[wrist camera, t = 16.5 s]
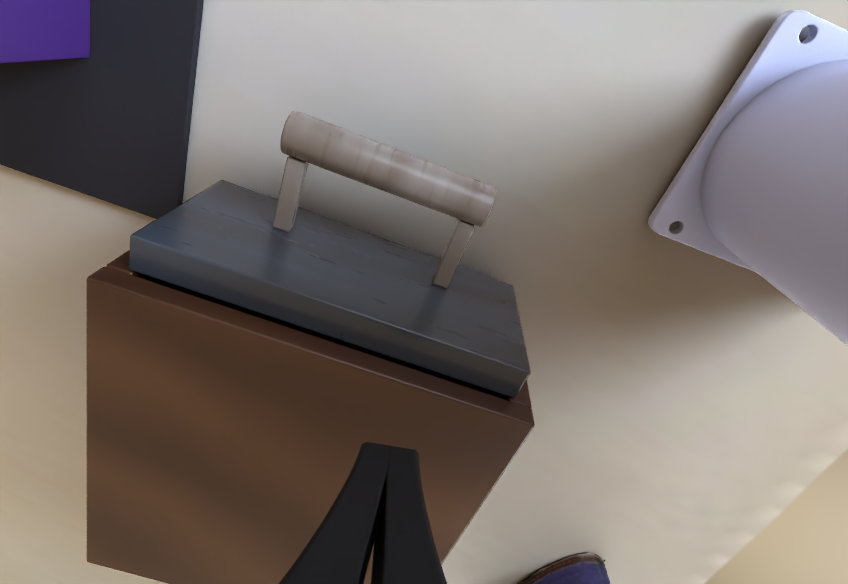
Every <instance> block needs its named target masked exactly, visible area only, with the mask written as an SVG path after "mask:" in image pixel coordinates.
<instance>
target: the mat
mask: <svg viewBox="0 0 848 584" xmlns="http://www.w3.org/2000/svg"><path fill="white" fill-rule="evenodd" d="M202 10H203V0H90V57H89V58H75V59H59V60H44V61H29V62H13V63H0V164H1V165H4V166H7V167H10V168H13V169H15V170H18V171H21V172H24V173H27V174H30V175H33V176H35V177H38V178H41V179H44V180H47V181H50V182H53V183H56V184H58V185H61V186H64V187H67V188H70V189H73V190H76V191H79V192H81V193H84V194H87V195H90V196H93V197H96V198H99V199H101V200H104V201H107V202H110V203H113V204H116V205H119V206H122V207H124V208H127V209H130V210H133V211H136V212H139V213H142V214H145V215H147V216H150V217H153V218H156V219H158V218H160V217H161V216H163V215H165V214H166V213H168V212H170V211H171V210H173V209H174V208H176V207H178V206H179V205H181V204H182V198H183V188H184V179H185V169H186V160H187V151H188V141H189V132H190V122H191V113H192V104H193V94H194V85H195V75H196V66H197V57H198V47H199V38H200V28H201V19H202Z"/></svg>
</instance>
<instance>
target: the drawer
mask: <svg viewBox="0 0 848 584" xmlns="http://www.w3.org/2000/svg"><path fill="white" fill-rule="evenodd" d="M281 151H282V153H284V154H286V155H289V157H288V158H287V161H286V165H285V170H284V175H283V179H282V184H281V189H280V193H279V198H278V200H276V199H274V198H271V197H268V196H265V195H263V194H260V193H257V192H254V191H252V190H249V189H246V188H243V187H241V186H238V185H235V184H232V183H230V182H227V181H224V180H220V181H219V182H217V183H215V184H214V185H212V186H211V187H209V188H207V189H206V190H204V191H202V192H201V193H199V194H197V195H196V196H194V197H193V198H191V199H189V200H188V201H186V202H184V203H183V204H181V205H179V206H178V207H176V208H174V209H173V210H171V211H170V212H168V213H166V214H165V215H163V216H161V217H160V218H158V219H156V220H155V221H153V222H152V223H150V224H148V225H147V226H145V227H143V228H142V229H140V230H138V231H137V232H135V233H133V234H132V235H131V237H130V256H129V269H130V270H132V271H135V272H138V273H141V274H144V275H147V276H150V277H153V278H156V279H159V280H162V281H165V282H168V283H171V284H174V285H177V286H180V287H179V288H178V289H177V290H178V291H181V292H184V293H187V294H190V295H193V296H196V297H199V298H202V299H205V300H208V301H211V302H214V303H217V304H220V305H223V306H226V307H229V308H232V309H235V310H238V311H241V312H244V313H247V314H250V315H253V316H256V317H259V318H262V319H265V320H268V321H271V322H274V323H277V324H280V325H283V326H286V327H289V328H292V329H295V330H298V331H301V332H304V333H307V334H310V335H313V336H316V337H319V338H322V339H325V340H328V341H331V342H334V343H337V344H340V345H343V346H346V347H349V348H352V349H355V350H358V351H361V352H364V353H367V354H370V355H373V356H376V357H379V358H382V359H385V360H388V361H391V362H394V363H397V364H400V365H403V366H406V367H409V368H412V369H415V370H418V371H421V372H424V373H427V374H430V375H433V376H436V377H439V378H442V379H445V380H447V381H450V382H453V383H456V384H459V385H462V386H465V387H468V388H471V389H474V390H477V388H476V386H479V387H482V388H485V389H488V390H491V391H494V392H497V393H500V394H503V395H506V396H509V397H512V398H515V397H516V396H517V394H518V392H519V391H520V389H521V387H522V386H523V384H524V383H525V381H526V379H527V378H528V376H529V374H530V366H529V362H528V357H527V352H526V347H525V342H524V337H523V332H522V327H521V322H520V317H519V312H518V307H517V302H516V298H515V293H514V288H513V285H511V284H508V283H505V282H502V281H500V280H497V279H494V278H491V277H489V276H486V275H483V274H480V273H478V272H475V271H472V270H469V269H467V268H464V267H461V266H458V264H459V262H460V260H461V257H462V255H463V253H464V251H465V248H466V246H467V244H468V242H469V239H470V237H471V235H472V233H473V231H474V225H476V226H479V227H482V226H483V225H484V224H485V222H486V221H487V219H488V217H489V215H490V213H491V210H492V208H493V205H494V202H495V198H496V193H497V189H496V188H495V187H493V186H490V185H488V184H485V183H482V182H480V181H477V180H475V179H472V178H470V177H467V176H464V175H462V174H459V173H457V172H454V171H451V170H449V169H446V168H444V167H441V166H438V165H436V164H433V163H431V162H428V161H425V160H423V159H420V158H418V157H415V156H412V155H410V154H407V153H405V152H402V151H399V150H397V149H394V148H392V147H389V146H386V145H384V144H381V143H379V142H376V141H374V140H371V139H368V138H366V137H363V136H361V135H358V134H355V133H353V132H350V131H348V130H345V129H342V128H340V127H337V126H335V125H332V124H329V123H327V122H324V121H322V120H319V119H316V118H314V117H311V116H309V115H306V114H303V113H301V112H298V111H292V112H291V113H290V115H289V116H288V118H287V120H286V122H285V125H284V128H283V132H282V136H281ZM308 163H310V164H313V165H316V166H318V167H321V168H324V169H326V170H329V171H332V172H334V173H337V174H340V175H342V176H345V177H348V178H350V179H353V180H356V181H358V182H361V183H364V184H366V185H369V186H372V187H374V188H377V189H380V190H383V191H385V192H388V193H391V194H393V195H396V196H399V197H401V198H404V199H407V200H409V201H412V202H415V203H417V204H420V205H423V206H425V207H428V208H431V209H433V210H436V211H439V212H441V213H444V214H447V215H449V216H452V217H455V218H457V222H456V224H455V226H454V229H453V231H452V234H451V236H450V238H449V241H448V243H447V245H446V248H445V250H444V252H443V255H442V257H441V259H439V258H436V257H433V256H431V255H428V254H425V253H422V252H420V251H417V250H414V249H411V248H409V247H406V246H403V245H400V244H398V243H395V242H392V241H389V240H387V239H384V238H381V237H378V236H376V235H373V234H370V233H367V232H365V231H362V230H359V229H356V228H354V227H351V226H348V225H345V224H343V223H340V222H337V221H334V220H332V219H329V218H326V217H323V216H320V215H318V214H315V213H312V212H309V211H307V210H304V209H301V208H298V205H299V201H300V196H301V192H302V188H303V184H304V180H305V175H306V171H307V167H308Z"/></svg>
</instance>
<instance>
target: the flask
mask: <svg viewBox="0 0 848 584" xmlns="http://www.w3.org/2000/svg"><path fill="white" fill-rule="evenodd" d="M605 561H606V560H602V559H601V558H600V557H599V556H597V555H596V554H591V553H585V554H576V555H574V556H570V557H567V558H565V559H562V560H561V561H559V562H556V563H554V564H551V565H550V566H548V567H544V568H543V569H540V570H538V572H536V573H535V574H532V575H531V576H530V577H529V579H527V580H524V581H522V582H521V583H519V584H610V581H609V578H608V575H607V570H606V568H605V565H604V562H605Z"/></svg>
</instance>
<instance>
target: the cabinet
mask: <svg viewBox="0 0 848 584" xmlns="http://www.w3.org/2000/svg"><path fill="white" fill-rule="evenodd" d="M129 256H130V250H129V251H127V252H126V253H124V254H123V255H121V256H120V257H118V258H117V259H115V260H114V261H112V262H110V263H109V264H107V266H106V267H103V268H101V269H100V270H98V271H96V272H95V273H93V274H92V275H90V276H89V277H88V278H87V562H90V563H93V564H97V565H101V566H105V567H108V568H112V569H116V570H120V571H123V572H127V573H131V574H135V575H138V576H142V577H146V578H150V579H154V580H157V581H161V582H165V583H169V584H279V582H280V581H281V580H282V579H283V577H284V576H285V575H286V573H287V572H288V571H289V569H290V568H291V567H292V565H293V564H294V562H295V561H296V560H297V558H298V557H299V555H300V554H301V553H302V551H303V550H304V548H305V547H306V545H307V544H308V542H309V541H310V539H311V538H312V536H313V535H314V533H315V532H316V530H317V529H318V527H319V526H320V524H321V523H322V521H323V520H324V518H325V516H326V515H327V513H328V511H329V510H330V508H331V506H332V505H333V503H334V501H335V500H336V498H337V496H338V494H339V493H340V491H341V489H342V487H343V485H344V484H345V482H346V480H347V478H348V476H349V474H350V472H351V470H352V468H353V465H354V463H355V461H356V458H357V456H358V454H359V451H360V448H361V445H362V444H363V443H365V442H371V443H378V444H384V445H390V446H396V447H402V448H408V449H414V450H416V451H417V452H418V453H419V465H420V475H421V482H422V489H423V494H424V500H425V505H426V509H427V514H428V518H429V522H430V526H431V530H432V534H433V538H434V542H435V546H436V549H437V553H438V557H439V560H440V563H441V565H442V563H443V562H444V560H445V559H446V557H447V556H448V554H449V553H450V551H451V550H452V548H453V547H454V545H455V544H456V542H457V541H458V539H459V538H460V536H461V535H462V533H463V532H464V530H465V529H466V527H467V526H468V524H469V523H470V521H471V520H472V519H473V517H474V516H475V514H476V513H477V511H478V510H479V508H480V507H481V505H482V504H483V502H484V501H485V499H486V498H487V496H488V495H489V493H490V492H491V490H492V489H493V487H494V486H495V484H496V483H497V481H498V480H499V478H500V477H501V475H502V474H503V472H504V471H505V469H506V468H507V466H508V465H509V463H510V462H511V460H512V459H513V457H514V456H515V454H516V453H517V451H518V450H519V448H520V447H521V445H522V444H523V442H524V441H525V439H526V438H527V436H528V435H529V433H530V432H531V430H532V429H533V427H534V419H533V414H532V409H531V401H530V396H529V391H528V385H527V380H526V381H525V383H524V384H523V386H522V387H521V389H520V391H519V392H518V394H517V396H516V397H515V398H512V397H509V396H506V395H503V394H500V393H497V392H494V391H491V390H488V389H485V388H482V387H479V386H476V388H477V390H474V389H471V388H468V387H465V386H462V385H459V384H456V383H453V382H450V381H447V380H445V379H442V378H439V377H436V376H433V375H430V374H427V373H424V372H421V371H418V370H415V369H412V368H409V367H406V366H403V365H400V364H397V363H394V362H391V361H388V360H385V359H382V358H379V357H376V356H373V355H370V354H367V353H364V352H361V351H358V350H355V349H352V348H349V347H346V346H343V345H340V344H337V343H334V342H331V341H328V340H325V339H322V338H319V337H316V336H313V335H310V334H307V333H304V332H301V331H298V330H295V329H292V328H289V327H286V326H283V325H280V324H277V323H274V322H271V321H268V320H265V319H262V318H259V317H256V316H253V315H250V314H247V313H244V312H241V311H238V310H235V309H232V308H229V307H226V306H223V305H220V304H217V303H214V302H211V301H208V300H205V299H202V298H199V297H196V296H193V295H190V294H187V293H184V292H181V291H178V290H177V289H178V288H179V287H180V286H177V285H174V284H171V283H168V282H165V281H162V280H159V279H156V278H153V277H150V276H147V275H144V274H141V273H138V272H135V271H132V270H130V269H129ZM373 548H374V545H373ZM372 561H373V549H372V553H371V557H370V561H369V565H368V569H367V573H366V577H365V581H364V584H371V574H372Z"/></svg>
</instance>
